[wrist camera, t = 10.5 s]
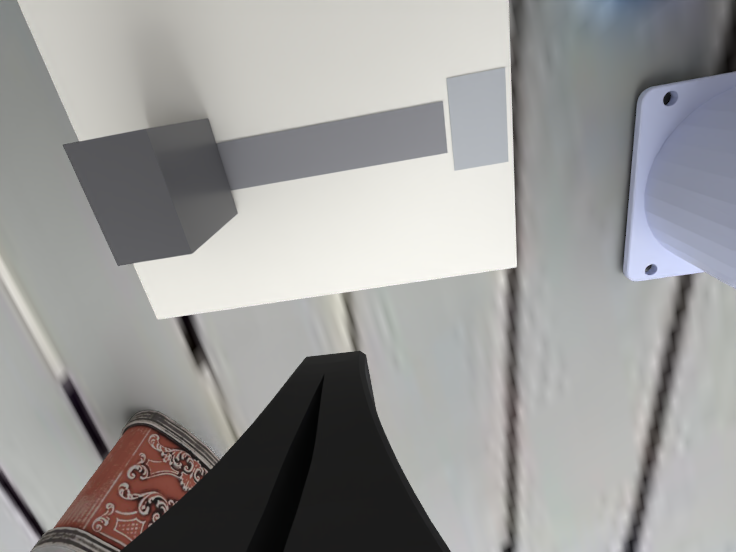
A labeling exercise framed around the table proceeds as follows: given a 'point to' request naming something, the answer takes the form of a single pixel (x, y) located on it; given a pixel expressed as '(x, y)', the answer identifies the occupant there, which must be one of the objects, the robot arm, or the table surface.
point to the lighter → (131, 486)
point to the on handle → (155, 189)
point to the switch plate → (308, 133)
